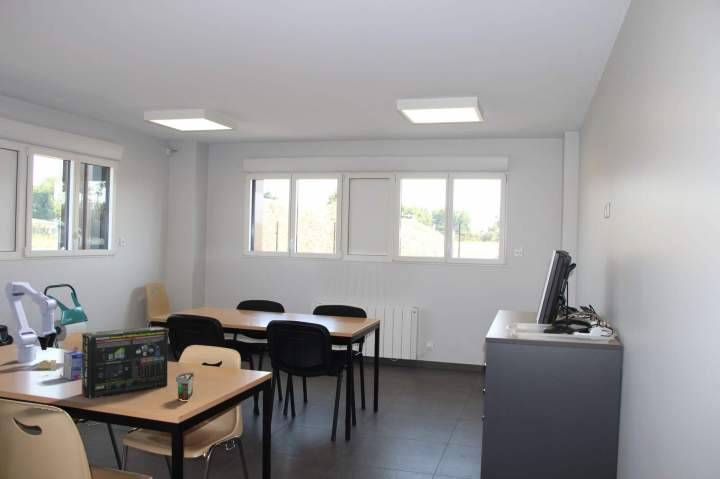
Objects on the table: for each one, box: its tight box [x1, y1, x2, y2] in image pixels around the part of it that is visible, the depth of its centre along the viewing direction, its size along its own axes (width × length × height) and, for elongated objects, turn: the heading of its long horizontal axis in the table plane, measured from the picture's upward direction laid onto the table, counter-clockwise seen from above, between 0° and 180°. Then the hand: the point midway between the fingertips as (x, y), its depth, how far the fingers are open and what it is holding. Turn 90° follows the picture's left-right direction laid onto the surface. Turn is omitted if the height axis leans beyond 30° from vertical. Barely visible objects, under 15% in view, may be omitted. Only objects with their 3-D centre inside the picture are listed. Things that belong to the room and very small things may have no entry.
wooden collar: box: [38, 359, 57, 370], centre depth 290 cm, size 6×6×4 cm
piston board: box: [21, 359, 64, 372], centre depth 293 cm, size 18×16×5 cm
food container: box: [175, 371, 195, 400], centre depth 245 cm, size 12×6×10 cm, turn 5°
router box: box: [81, 325, 169, 399], centre depth 257 cm, size 36×11×27 cm, turn 133°
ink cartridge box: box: [62, 346, 82, 381], centre depth 276 cm, size 10×6×14 cm, turn 48°
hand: (47, 348), depth 299 cm, fingers open, 7 cm apart
